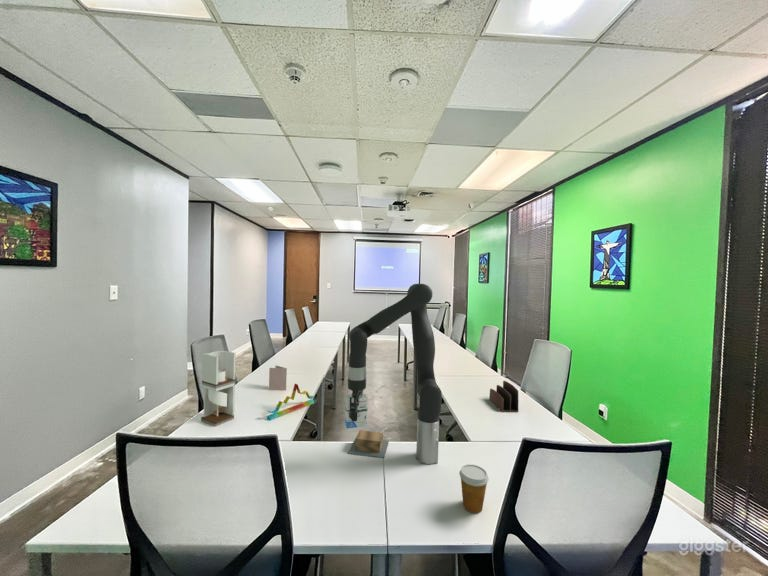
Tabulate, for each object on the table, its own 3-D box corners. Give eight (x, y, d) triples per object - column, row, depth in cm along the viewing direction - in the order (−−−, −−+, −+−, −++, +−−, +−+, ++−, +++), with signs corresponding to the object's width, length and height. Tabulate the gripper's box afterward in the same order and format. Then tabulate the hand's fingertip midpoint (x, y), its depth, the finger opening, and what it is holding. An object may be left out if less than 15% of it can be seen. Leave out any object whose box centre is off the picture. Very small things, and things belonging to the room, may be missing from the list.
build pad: (388, 441, 146) (388, 440, 146) (384, 458, 132) (384, 457, 132) (355, 437, 149) (355, 437, 149) (347, 453, 135) (347, 452, 135)
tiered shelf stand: (201, 421, 161) (202, 353, 160) (220, 413, 170) (221, 350, 170) (215, 426, 155) (216, 357, 155) (234, 418, 165) (235, 353, 164)
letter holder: (503, 400, 205) (504, 378, 205) (518, 412, 186) (519, 389, 185) (489, 399, 205) (489, 378, 204) (502, 412, 185) (503, 389, 185)
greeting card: (287, 389, 210) (287, 367, 210) (278, 393, 204) (278, 370, 204) (275, 386, 216) (276, 365, 216) (266, 389, 210) (267, 367, 210)
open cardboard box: (382, 443, 144) (382, 432, 144) (379, 452, 136) (379, 441, 136) (359, 440, 146) (359, 430, 145) (355, 449, 138) (355, 438, 138)
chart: (270, 421, 164) (271, 393, 164) (266, 419, 166) (267, 391, 166) (314, 403, 189) (315, 379, 189) (310, 402, 191) (311, 378, 190)
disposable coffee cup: (481, 497, 110) (482, 463, 110) (491, 517, 101) (493, 480, 101) (455, 496, 110) (456, 463, 110) (462, 517, 100) (464, 480, 100)
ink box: (346, 428, 124) (347, 399, 124) (344, 423, 129) (345, 395, 129) (367, 426, 126) (368, 397, 126) (365, 421, 131) (365, 393, 131)
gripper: (362, 383, 120) (361, 426, 120) (369, 372, 134) (368, 410, 134) (343, 381, 121) (342, 424, 121) (352, 371, 135) (351, 409, 135)
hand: (356, 417), depth 128 cm, fingers closed on ink box, 6 cm apart
